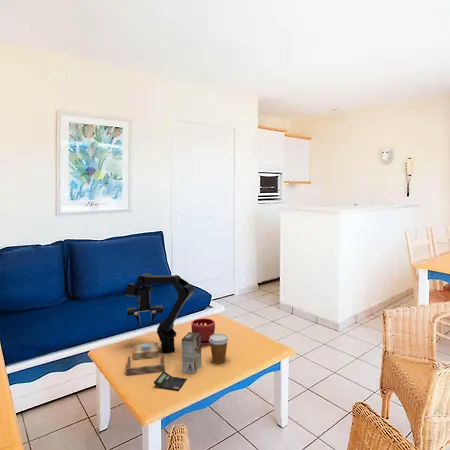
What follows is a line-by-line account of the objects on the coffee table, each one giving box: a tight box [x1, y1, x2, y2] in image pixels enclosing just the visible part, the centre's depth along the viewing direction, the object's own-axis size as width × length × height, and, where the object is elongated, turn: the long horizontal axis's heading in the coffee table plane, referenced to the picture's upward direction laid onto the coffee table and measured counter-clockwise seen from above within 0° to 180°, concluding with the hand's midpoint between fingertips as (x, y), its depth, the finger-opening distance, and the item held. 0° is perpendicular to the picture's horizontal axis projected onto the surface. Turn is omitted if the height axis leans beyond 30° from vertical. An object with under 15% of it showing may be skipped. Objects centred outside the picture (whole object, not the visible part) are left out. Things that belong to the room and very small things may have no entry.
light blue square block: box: [141, 342, 150, 351], centre depth 182 cm, size 4×4×2 cm
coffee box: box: [181, 331, 202, 374], centre depth 168 cm, size 9×6×16 cm
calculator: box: [153, 370, 188, 392], centre depth 155 cm, size 9×12×3 cm
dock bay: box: [125, 352, 166, 377], centre depth 170 cm, size 17×13×3 cm
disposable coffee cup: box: [209, 333, 229, 364], centre depth 176 cm, size 10×10×12 cm
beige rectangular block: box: [133, 342, 159, 361], centre depth 183 cm, size 12×10×4 cm
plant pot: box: [190, 317, 216, 347], centre depth 197 cm, size 13×13×12 cm
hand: (145, 325), depth 191 cm, fingers open, 5 cm apart
